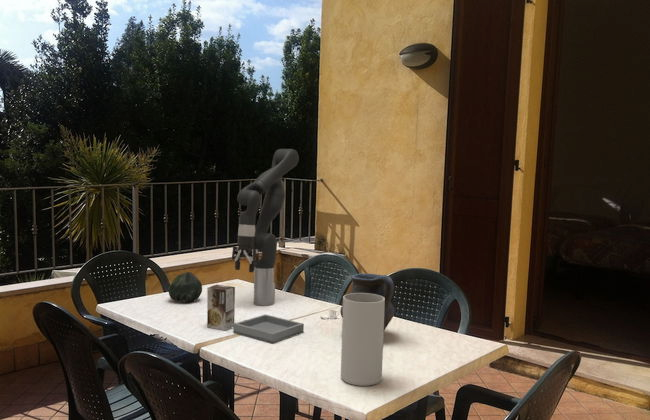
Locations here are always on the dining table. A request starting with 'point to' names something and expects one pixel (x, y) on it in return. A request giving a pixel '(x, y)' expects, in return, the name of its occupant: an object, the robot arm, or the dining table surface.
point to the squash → (185, 288)
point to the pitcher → (375, 291)
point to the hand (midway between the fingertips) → (244, 271)
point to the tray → (268, 328)
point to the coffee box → (220, 307)
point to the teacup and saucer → (331, 315)
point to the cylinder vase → (362, 338)
